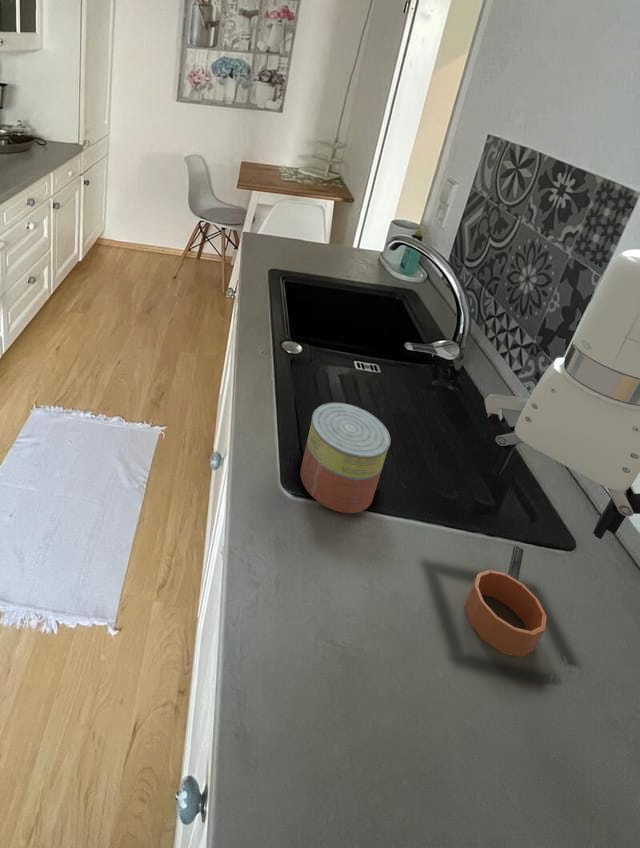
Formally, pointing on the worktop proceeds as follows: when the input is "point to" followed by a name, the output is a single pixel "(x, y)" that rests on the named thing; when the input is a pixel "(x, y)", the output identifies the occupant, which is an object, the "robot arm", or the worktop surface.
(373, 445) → the canned food
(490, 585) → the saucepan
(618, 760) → the worktop surface
